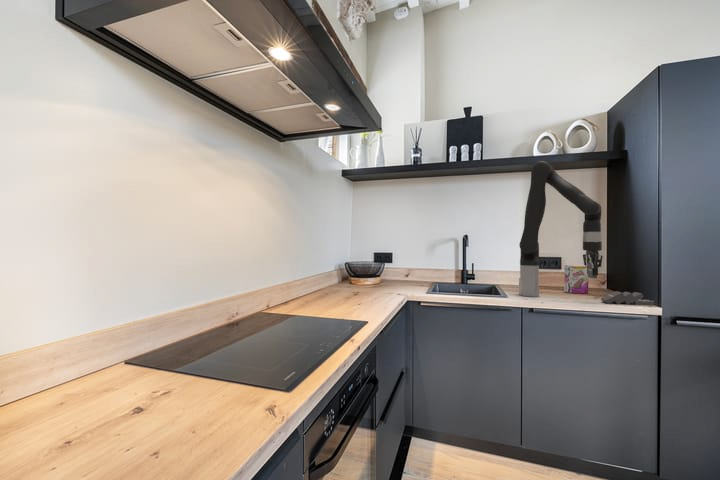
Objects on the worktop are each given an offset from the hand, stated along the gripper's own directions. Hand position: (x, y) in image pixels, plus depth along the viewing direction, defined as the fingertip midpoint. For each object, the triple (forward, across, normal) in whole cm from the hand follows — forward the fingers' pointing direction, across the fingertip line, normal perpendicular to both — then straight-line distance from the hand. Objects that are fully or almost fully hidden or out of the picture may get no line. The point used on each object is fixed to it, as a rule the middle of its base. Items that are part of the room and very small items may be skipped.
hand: (592, 274), depth 146 cm
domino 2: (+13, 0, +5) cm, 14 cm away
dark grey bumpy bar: (+13, 0, +9) cm, 16 cm away
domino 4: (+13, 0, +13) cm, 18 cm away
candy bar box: (+14, -30, +5) cm, 34 cm away
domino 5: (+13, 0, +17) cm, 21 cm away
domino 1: (+1, 0, 0) cm, 1 cm away
